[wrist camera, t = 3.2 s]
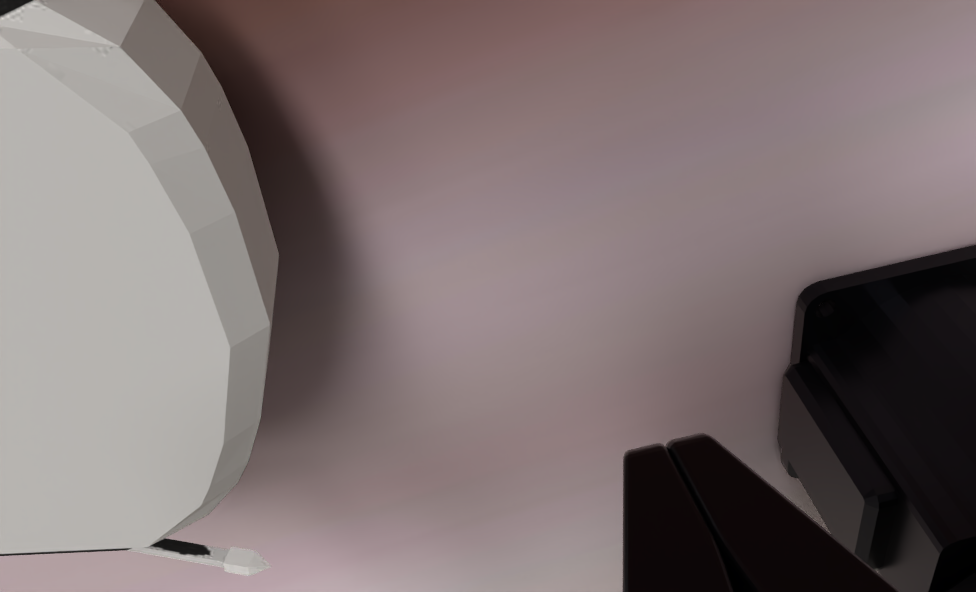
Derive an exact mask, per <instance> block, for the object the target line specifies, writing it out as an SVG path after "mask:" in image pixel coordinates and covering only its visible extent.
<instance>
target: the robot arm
mask: <svg viewBox="0 0 976 592" xmlns="http://www.w3.org/2000/svg"><path fill="white" fill-rule="evenodd" d="M824 301H825V302H824ZM821 302H824V303H823V304H821V305H819V304H820V303H821ZM818 305H819V306H818ZM778 442H779V444H780V446H781V448H782V453H781V461H782V464H783V465H784V467H785V469H786V471H787V472H788V474H789V475H790V476H791V477H795V478H799V479H800V481H801V482H802V484H803V486H804V488H805V489H806V491H807V493H808V494H809V496H810V498H811V500H812V501H813V503H814V505H815V506H816V508H817V510H818V512H819V513H820V515H821V517H822V519H823V520H824V522H825V524H826V525H827V527H828V529H829V531H830V532H831V534H832V535H831V534H830V533H829V532H827V531H826V530H825V529H824V528H822V527H821V526H820V525H819V524H818V523H816V522H815V521H814V520H813V519H811V518H810V517H809V516H808V515H807V514H805V513H804V512H803V511H802V510H801V509H799V508H798V507H797V506H796V505H794V504H793V503H792V502H791V501H790V500H788V499H787V498H786V497H785V496H783V495H782V494H781V493H780V492H779V491H777V490H776V489H775V488H774V487H773V486H771V485H770V484H769V483H768V482H766V481H765V480H764V479H763V478H762V477H760V476H759V475H758V474H757V473H755V472H754V471H753V470H752V469H751V468H749V467H748V466H747V465H746V464H744V463H743V462H742V461H741V460H740V459H738V458H737V457H736V456H735V455H734V454H732V453H731V452H730V451H729V450H727V449H726V448H725V447H724V446H723V445H721V444H720V443H719V442H718V441H716V440H715V439H714V438H713V437H711V436H709V435H707V434H703V433H701V434H695V435H691V436H686V437H682V438H678V439H674V440H671V441H669V442H668V443H667V444H666V447H665V446H664V445H662V444H653V445H648V446H644V447H640V448H636V449H631V450H628V451H627V452H626V453H625V454H624V459H623V592H976V245H974V246H969V247H965V248H961V249H956V250H952V251H948V252H943V253H939V254H935V255H931V256H926V257H922V258H918V259H913V260H909V261H905V262H900V263H896V264H892V265H887V266H883V267H879V268H874V269H870V270H866V271H861V272H857V273H853V274H848V275H844V276H840V277H836V278H831V279H827V280H823V281H819V282H816V283H814V284H811V285H810V286H808V287H807V288H806V289H804V290H803V292H802V293H801V294H800V295H799V298H798V301H797V305H796V315H795V325H794V335H793V345H792V355H791V364H790V365H789V366H788V368H787V370H786V372H785V374H784V376H783V386H782V397H781V407H780V418H779V428H778ZM876 570H877V571H878V573H879V574H878V573H877V572H876Z"/></svg>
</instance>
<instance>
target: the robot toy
mask: <svg viewBox="0 0 976 592" xmlns="http://www.w3.org/2000/svg"><path fill="white" fill-rule="evenodd" d="M278 261H279V253H278V249H277V246H276V242H275V239H274V235H273V232H272V228H271V225H270V221H269V218H268V215H267V211H266V208H265V204H264V201H263V197H262V194H261V190H260V187H259V183H258V180H257V176H256V173H255V169H254V166H253V162H252V159H251V155H250V152H249V149H248V146H247V144H246V141H245V139H244V137H243V134H242V132H241V130H240V128H239V125H238V123H237V121H236V118H235V116H234V114H233V112H232V109H231V107H230V105H229V102H228V100H227V98H226V96H225V93H224V91H223V89H222V87H221V85H220V83H219V81H218V80H217V78H216V76H215V75H214V73H213V71H212V70H211V68H210V66H209V65H208V63H207V61H206V59H205V58H204V56H203V54H202V53H201V51H200V50H199V49H198V48H197V47H196V46H195V45H194V44H193V42H192V41H191V40H190V39H189V38H188V37H187V36H186V35H185V34H184V32H183V31H182V30H181V29H180V28H179V27H178V26H177V25H176V24H175V22H174V21H173V20H172V19H171V18H170V17H169V16H168V15H167V14H166V12H165V11H164V10H163V9H162V8H161V7H160V6H159V5H158V4H157V2H156V1H155V0H0V556H9V555H31V554H53V553H74V552H96V551H118V550H127V551H133V552H138V553H144V554H149V555H155V556H161V557H166V558H172V559H178V560H183V561H189V562H195V563H200V564H206V565H211V566H217V567H223V568H224V570H225V572H229V573H235V574H241V575H246V576H251V575H253V574H256V573H258V572H260V571H263V570H265V569H267V568H270V567H272V566H271V565H270V564H269V563H268V562H267V561H266V560H265V559H264V558H263V557H262V556H261V555H259V554H258V553H257V552H256V551H255V550H249V549H244V548H238V547H232V546H231V548H230V550H228V549H222V548H216V547H211V546H205V545H199V544H194V543H188V542H182V541H177V540H171V539H165V538H166V537H167V536H169V535H171V534H173V533H175V532H177V531H179V530H180V529H182V528H184V527H186V526H188V525H190V524H191V523H193V522H195V521H197V520H199V519H201V518H203V517H204V516H206V515H208V514H209V513H210V512H211V511H212V510H213V509H214V508H215V507H216V506H217V505H218V504H219V502H220V501H221V500H222V499H223V498H224V497H225V496H226V495H227V494H228V493H229V492H230V490H231V489H232V488H233V487H234V486H235V485H236V484H237V483H238V481H239V479H240V477H241V475H242V473H243V471H244V469H245V467H246V465H247V463H248V461H249V458H250V454H251V451H252V447H253V444H254V440H255V437H256V434H257V430H258V427H259V423H260V420H261V412H262V404H263V396H264V388H265V380H266V372H267V364H268V356H269V347H270V338H271V328H272V319H273V309H274V299H275V290H276V280H277V271H278Z"/></svg>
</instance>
